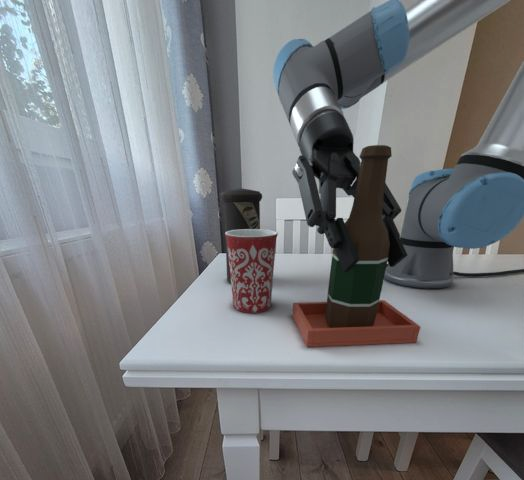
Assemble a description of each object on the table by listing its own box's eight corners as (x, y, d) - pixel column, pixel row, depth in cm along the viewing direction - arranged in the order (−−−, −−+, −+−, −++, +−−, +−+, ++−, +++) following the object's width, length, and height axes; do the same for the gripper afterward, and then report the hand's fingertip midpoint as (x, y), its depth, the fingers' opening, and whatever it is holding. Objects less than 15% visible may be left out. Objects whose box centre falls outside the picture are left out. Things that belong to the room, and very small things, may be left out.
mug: (280, 313, 53) (282, 235, 47) (230, 316, 52) (226, 236, 46) (268, 292, 64) (269, 226, 58) (227, 294, 63) (223, 227, 57)
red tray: (381, 313, 54) (384, 300, 52) (416, 342, 44) (420, 326, 42) (292, 316, 52) (292, 302, 51) (306, 347, 42) (308, 331, 41)
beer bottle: (315, 319, 50) (331, 148, 38) (352, 312, 52) (378, 150, 40) (343, 338, 43) (374, 140, 32) (384, 330, 46) (426, 144, 34)
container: (255, 287, 68) (254, 188, 58) (219, 284, 70) (213, 188, 60) (266, 278, 75) (267, 188, 65) (234, 275, 77) (230, 188, 68)
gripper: (360, 159, 52) (410, 271, 47) (253, 154, 45) (299, 285, 40) (389, 115, 45) (451, 241, 40) (268, 101, 38) (325, 252, 33)
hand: (375, 263), depth 40 cm, fingers closed on beer bottle, 7 cm apart
